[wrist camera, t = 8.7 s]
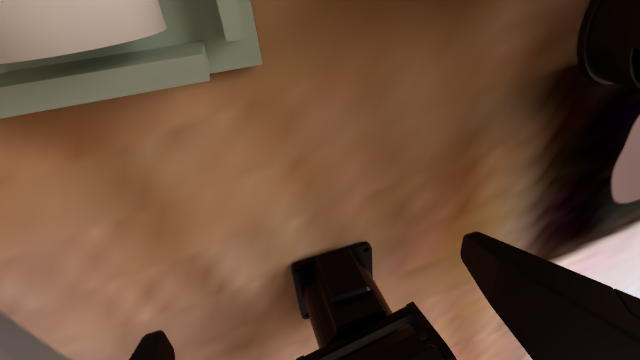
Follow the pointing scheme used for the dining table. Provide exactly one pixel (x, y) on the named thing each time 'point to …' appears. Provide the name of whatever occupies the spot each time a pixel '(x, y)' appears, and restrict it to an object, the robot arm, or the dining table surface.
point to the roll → (72, 26)
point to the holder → (138, 60)
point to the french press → (611, 42)
